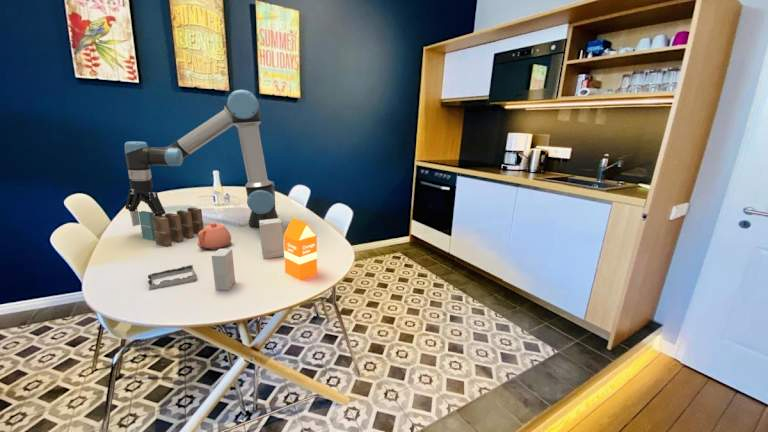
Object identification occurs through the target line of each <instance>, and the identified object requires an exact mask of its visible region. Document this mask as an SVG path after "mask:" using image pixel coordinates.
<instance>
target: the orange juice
mask: <svg viewBox="0 0 768 432" xmlns="http://www.w3.org/2000/svg"><path fill="white" fill-rule="evenodd" d="M317 237H318V236H317V235H316V234H315V232H314V231H313V229H312V228H311V226H310V225H309V223H308V222H306V221H302V220H300V219H298V218H295V217H292V218H291V219H290V222H289V224H288V226H287V227H286V229H285V231H284V233H283V247H284V256H283V257H284V272H285V273H286V274H288V275H289V276H291V277H293V278H295V279H297V280H298V281H302V280H304V279H307V278H310V277H311V276H314V275H317V274H318V250H317V249H318V245H317V243H318V242H317V241H318V239H317Z"/></svg>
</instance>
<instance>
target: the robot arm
mask: <svg viewBox="0 0 768 432" xmlns="http://www.w3.org/2000/svg"><path fill="white" fill-rule="evenodd" d="M259 102H260V101H259V100H258V99H257V97H256V96H255V95H254V94H253V93H252V92H251V91H249V90H247V89H236V90H234V91H232V92H231V93H230V94H229V95H228V98H227V102H226V105H224V108H223V110H221V111H219V112H218V113H216V114H215V115H213V116H212V117H211V118H209V119H208V120H206V121H204V122H203V123H202V124H200V125H199V126H197V127H196V128H193V130H191V131H190V132H188V133H186V134H185V135H184V136H182V137H180V138H179V139H178V140H175V141H174V142H173V143H171V144H170V145H168V146H165V147H158V146H157V147H154V146H153V147H152V146H151V147H150V146H148V143H147V142H146V141H134V140H133V141H126V142H125V143H124V155H125V161H126V164H127V165H126V166H127V171H128V179H129V185H130V189H128V190H127V194H128V195H127V198H126V203H125V208H124V209H125V210H128V211H129V213H130V218H131V224H132V227H136V226H139V225H140V226H141V224H140V218H139V209H138V207H139V205H140V203H142V202H144V203H145V204H146V205H147V206H148V207H149V209H150V211H151V210H152V212H153V213H154V214H155V215H154V217H156V216H159V217H162V215H163V214H165V211H164V209H163V207H164V206H163V205H162V202H161V201H160V199H159V195H158V191H154V192H153V191H152V189H153V188H154V186H153V180H152V177H153V176H152V170H151V166H162V167H163V166H164V167H167V166H168V167H177V166H178V167H180V166H182V164H183V162H184V159H185V158H187V157H188V156H190V155H192V154H193V153H194V152H195V151H197V150H199V149H200V148H202V147H203V146H204V145H207V143H210V142H211V141H212V140H214V139H215V138H216V137H218V136H220V135H221V134H223V133H224V132H226V131H227V130H229V129H230V128H231V127H233V126H235V127H236V129H237V132H238V138H239V142H240V148H241V154H242V158H243V163H244V168H245V173H246V177H247V183H246V184H245V185H244V186H245V191H246V196H247V199H246V204H247V207H248V208H249V210H251V212H250V214H249V215H250V216H249V220H248V226H249V227H250V228H252V229H259V230H260V226H259V220H267V219H276V218H279V215H278V213H277V210H276V194H275V192H276V191H275V190H276V189H275V187H276V186H275V182H274V181H273V180H269V179H268V174H267V169H266V162H265V156H264V151H263V146H262V140H261V133H260V127H259V126H260V125H261V123H262V120H261V114H260V103H259ZM161 211H162V212H161Z"/></svg>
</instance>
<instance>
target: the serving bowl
mask: <svg viewBox="0 0 768 432" xmlns="http://www.w3.org/2000/svg"><path fill="white" fill-rule="evenodd" d="M187 208H198V207H197V206H196V205H192V204H175V205H165V206H163V209H164V211H165V214H168V213H172V214H177V211H179V210H182V211H188V209H187ZM148 212H152V210H151V209H150V210H149V211H148ZM161 212H162V211H161ZM152 213H153V212H152ZM153 214H154V213H153ZM165 214H163V215H162V217H164V218H165ZM154 215H155V214H154Z"/></svg>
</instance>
